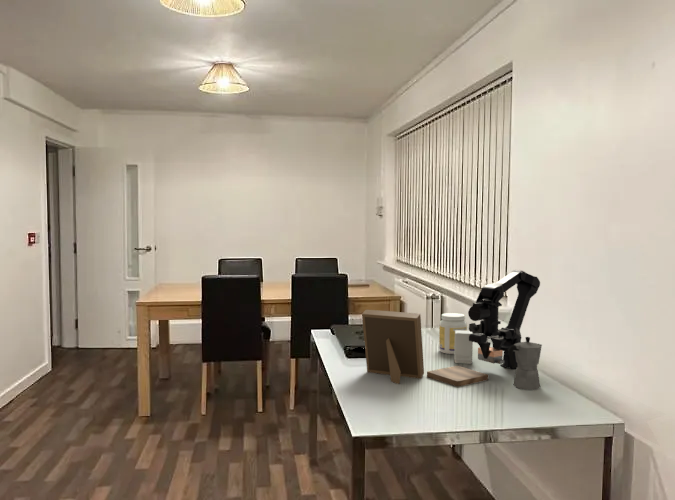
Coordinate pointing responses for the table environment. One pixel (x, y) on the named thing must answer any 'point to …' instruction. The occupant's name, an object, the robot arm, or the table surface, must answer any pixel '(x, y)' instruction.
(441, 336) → the supplement tub
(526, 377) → the coffeepot
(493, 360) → the block
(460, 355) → the supplement box
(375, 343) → the photo frame
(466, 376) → the walnut stand
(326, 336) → the table surface
